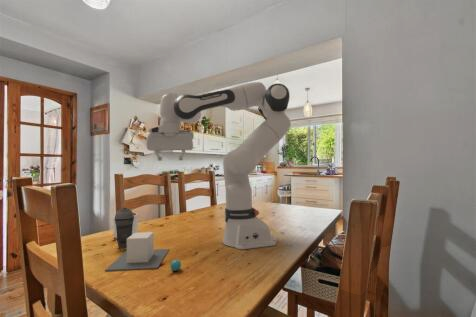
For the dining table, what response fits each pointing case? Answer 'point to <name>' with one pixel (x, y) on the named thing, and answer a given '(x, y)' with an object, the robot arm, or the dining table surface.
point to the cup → (134, 228)
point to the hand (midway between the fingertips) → (170, 160)
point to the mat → (151, 264)
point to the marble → (175, 265)
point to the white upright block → (140, 247)
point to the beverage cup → (123, 225)
